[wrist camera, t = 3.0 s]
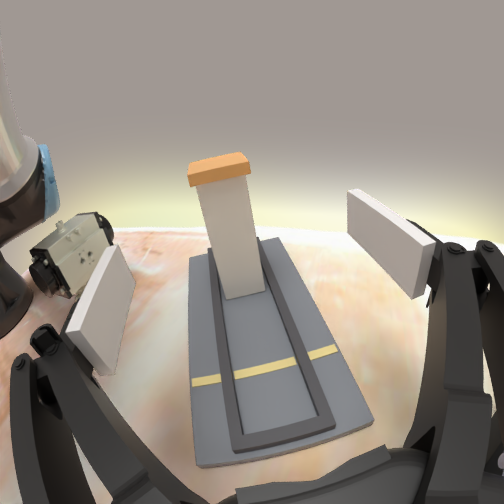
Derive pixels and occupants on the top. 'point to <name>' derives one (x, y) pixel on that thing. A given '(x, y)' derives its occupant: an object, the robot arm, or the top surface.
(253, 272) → the fader knob
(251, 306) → the slider console
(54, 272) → the pneumatic valve
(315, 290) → the top surface
